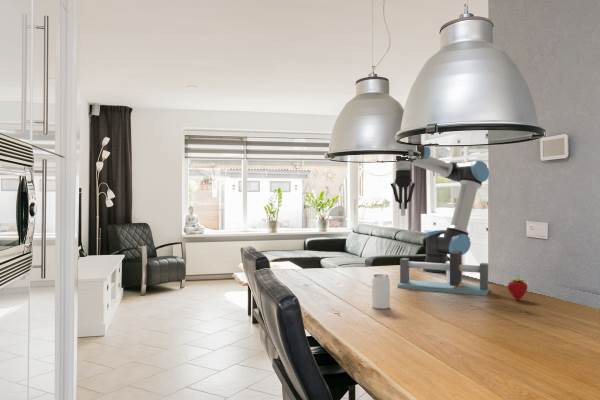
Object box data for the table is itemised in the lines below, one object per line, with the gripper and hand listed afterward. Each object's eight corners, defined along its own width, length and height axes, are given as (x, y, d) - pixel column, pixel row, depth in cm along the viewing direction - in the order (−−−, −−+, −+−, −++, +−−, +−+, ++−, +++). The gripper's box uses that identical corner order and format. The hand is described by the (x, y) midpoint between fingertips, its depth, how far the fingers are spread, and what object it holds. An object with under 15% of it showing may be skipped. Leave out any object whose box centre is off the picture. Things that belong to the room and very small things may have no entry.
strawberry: (504, 298, 185) (504, 274, 185) (522, 298, 186) (522, 273, 186) (512, 301, 179) (512, 276, 179) (530, 301, 180) (530, 276, 180)
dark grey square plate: (449, 285, 198) (449, 253, 198) (454, 280, 210) (454, 250, 210) (457, 286, 196) (457, 253, 196) (461, 281, 209) (461, 250, 209)
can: (392, 308, 167) (392, 276, 167) (376, 309, 166) (376, 277, 166) (385, 305, 174) (385, 273, 174) (369, 305, 172) (369, 274, 172)
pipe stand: (397, 287, 208) (397, 260, 208) (405, 282, 221) (405, 257, 221) (486, 295, 191) (486, 266, 191) (489, 289, 203) (489, 262, 203)
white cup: (465, 284, 218) (465, 263, 218) (448, 283, 218) (448, 263, 218) (459, 281, 225) (459, 261, 225) (443, 281, 226) (443, 261, 226)
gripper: (388, 169, 232) (388, 215, 232) (414, 168, 226) (414, 216, 226) (392, 170, 239) (392, 215, 239) (417, 169, 233) (417, 215, 233)
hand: (403, 215), depth 232 cm, fingers closed
